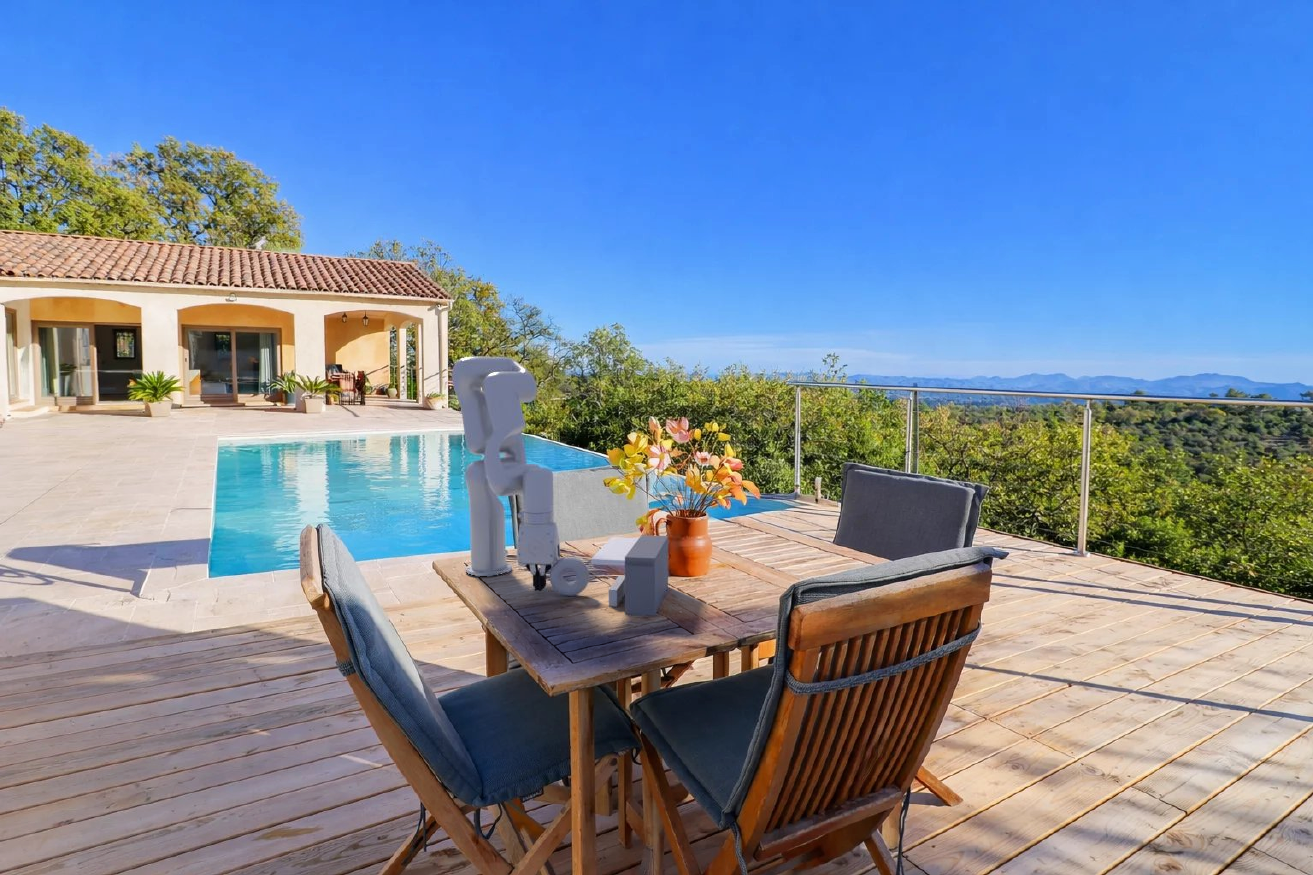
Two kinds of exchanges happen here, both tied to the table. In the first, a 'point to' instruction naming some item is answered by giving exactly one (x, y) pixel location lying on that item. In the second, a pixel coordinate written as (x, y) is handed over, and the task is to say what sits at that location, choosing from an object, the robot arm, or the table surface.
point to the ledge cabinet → (637, 572)
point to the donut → (564, 586)
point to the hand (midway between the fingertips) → (539, 589)
